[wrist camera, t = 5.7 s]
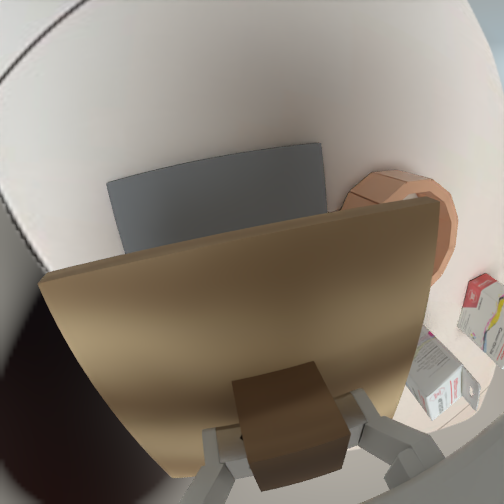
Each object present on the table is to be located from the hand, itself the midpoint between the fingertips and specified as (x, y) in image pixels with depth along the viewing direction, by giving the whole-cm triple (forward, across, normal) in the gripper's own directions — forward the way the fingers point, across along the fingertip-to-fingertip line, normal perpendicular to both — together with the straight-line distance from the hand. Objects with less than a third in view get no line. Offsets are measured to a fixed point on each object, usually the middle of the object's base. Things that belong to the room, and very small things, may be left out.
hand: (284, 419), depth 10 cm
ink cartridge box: (+16, -34, +16) cm, 40 cm away
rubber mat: (+16, 0, 0) cm, 16 cm away
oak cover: (+2, 0, 0) cm, 2 cm away
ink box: (+16, -18, +15) cm, 29 cm away
